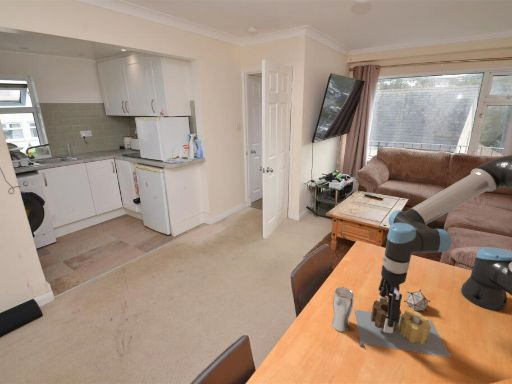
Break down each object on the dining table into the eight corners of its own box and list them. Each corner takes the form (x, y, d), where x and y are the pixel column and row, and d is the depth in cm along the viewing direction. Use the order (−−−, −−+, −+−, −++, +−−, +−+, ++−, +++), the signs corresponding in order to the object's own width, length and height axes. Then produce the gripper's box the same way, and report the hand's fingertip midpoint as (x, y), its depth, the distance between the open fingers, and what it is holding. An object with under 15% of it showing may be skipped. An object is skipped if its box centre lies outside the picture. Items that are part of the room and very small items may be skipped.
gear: (414, 321, 100) (417, 309, 98) (433, 341, 92) (437, 328, 90) (393, 325, 99) (395, 312, 97) (411, 346, 90) (414, 332, 88)
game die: (418, 319, 108) (436, 314, 100) (399, 310, 109) (415, 304, 101) (418, 298, 114) (435, 291, 106) (399, 289, 114) (415, 282, 106)
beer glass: (337, 335, 96) (341, 301, 92) (327, 320, 103) (330, 288, 98) (353, 330, 98) (358, 297, 93) (343, 317, 105) (347, 285, 100)
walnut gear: (394, 314, 99) (396, 301, 98) (401, 333, 91) (404, 319, 89) (368, 310, 101) (370, 297, 99) (373, 329, 93) (376, 315, 91)
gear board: (430, 323, 101) (435, 305, 99) (450, 361, 87) (456, 341, 84) (353, 312, 107) (356, 295, 104) (360, 346, 92) (363, 327, 89)
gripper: (375, 250, 100) (367, 299, 107) (391, 287, 79) (380, 344, 87) (397, 252, 98) (387, 301, 105) (419, 290, 78) (405, 348, 85)
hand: (384, 321), depth 96 cm, fingers closed on walnut gear, 9 cm apart
